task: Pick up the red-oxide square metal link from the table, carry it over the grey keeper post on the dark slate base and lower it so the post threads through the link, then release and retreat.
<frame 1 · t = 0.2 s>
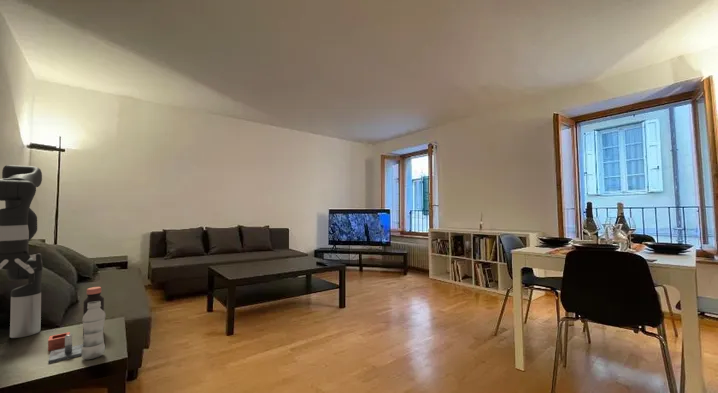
hand: (11, 286, 105), 29 cm above the table, fingers open, 8 cm apart
keeper: (68, 354, 117), on the table
link: (59, 346, 124), on the table
vinegar: (93, 334, 135), on the table
plastic bottle: (93, 358, 114), on the table
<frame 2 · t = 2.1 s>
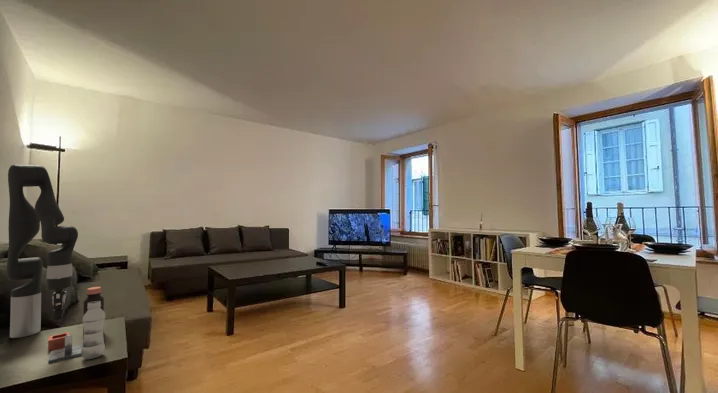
hand: (58, 317, 124), 12 cm above the table, fingers open, 8 cm apart
nothing on the table moved.
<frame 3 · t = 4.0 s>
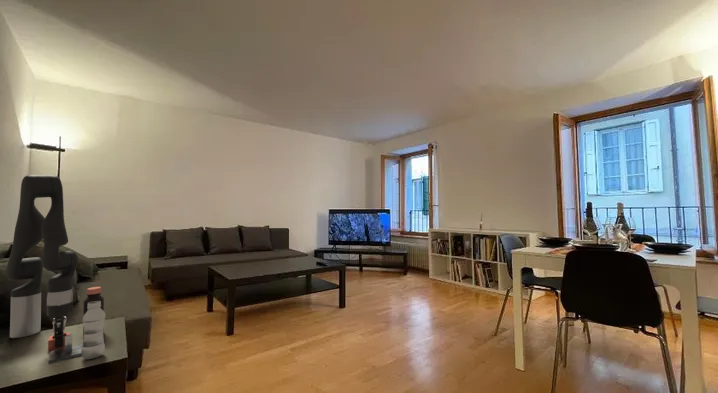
hand: (59, 344, 124), 1 cm above the table, fingers closed on link, 6 cm apart
link: (59, 346, 124), on the table, touching gripper
everything else where it was.
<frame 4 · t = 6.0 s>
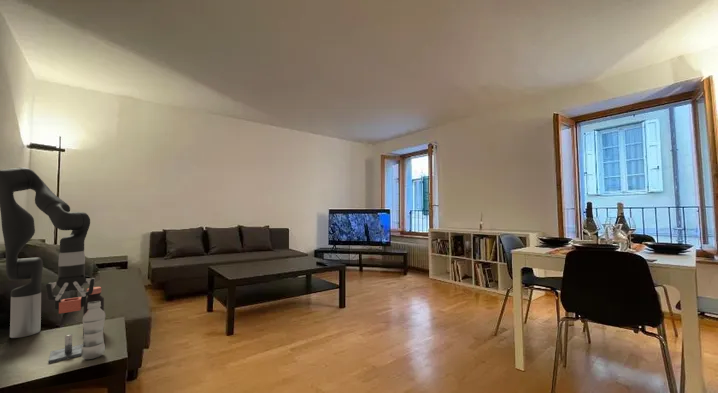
hand: (71, 307, 119), 17 cm above the table, fingers closed on link, 6 cm apart
link: (71, 310, 118), point 16 cm above the table, touching gripper
everything else where it was.
when the fingers open (5 cm above the table, at t = 8.4 s): link drops 3 cm, resting on keeper.
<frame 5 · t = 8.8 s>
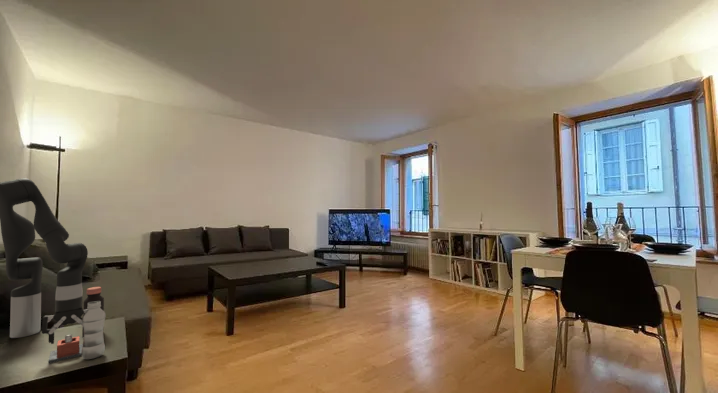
hand: (68, 339, 117), 5 cm above the table, fingers open, 8 cm apart
link: (68, 351, 117), point 1 cm above the table, touching keeper
everything else where it was.
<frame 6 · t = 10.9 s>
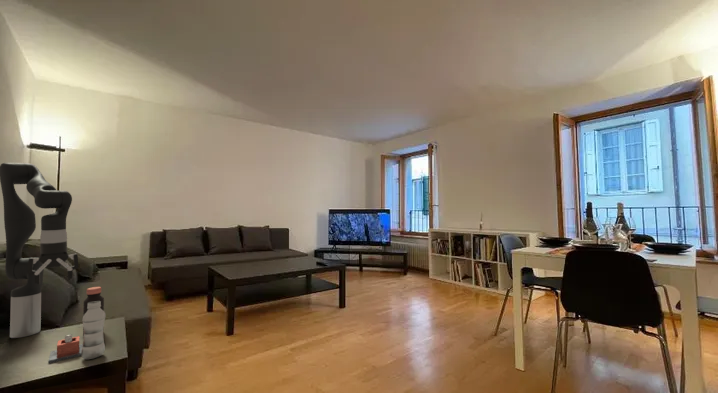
hand: (54, 282, 122), 26 cm above the table, fingers open, 8 cm apart
nothing on the table moved.
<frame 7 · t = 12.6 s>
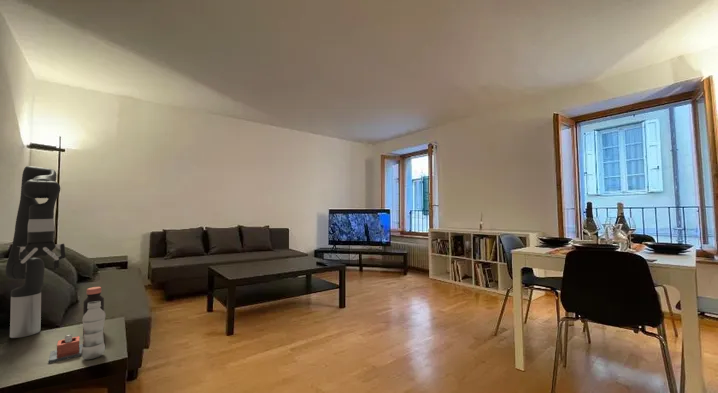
hand: (40, 271, 124), 30 cm above the table, fingers open, 8 cm apart
nothing on the table moved.
at the end: link 0.0 cm off-centre on the keeper, point 1.0 cm above the keeper's base; the gripper is holding nothing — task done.
